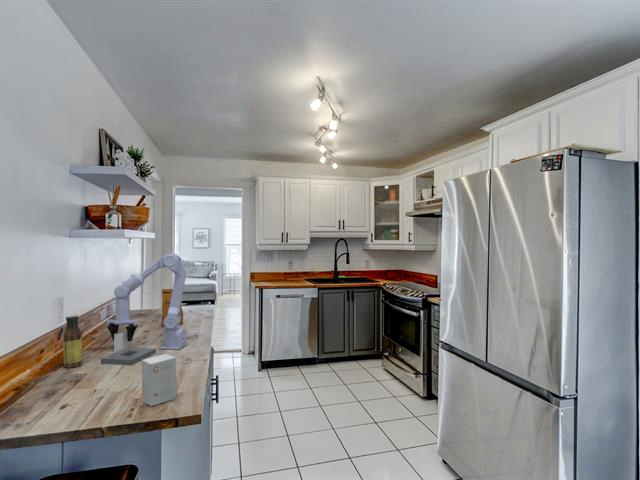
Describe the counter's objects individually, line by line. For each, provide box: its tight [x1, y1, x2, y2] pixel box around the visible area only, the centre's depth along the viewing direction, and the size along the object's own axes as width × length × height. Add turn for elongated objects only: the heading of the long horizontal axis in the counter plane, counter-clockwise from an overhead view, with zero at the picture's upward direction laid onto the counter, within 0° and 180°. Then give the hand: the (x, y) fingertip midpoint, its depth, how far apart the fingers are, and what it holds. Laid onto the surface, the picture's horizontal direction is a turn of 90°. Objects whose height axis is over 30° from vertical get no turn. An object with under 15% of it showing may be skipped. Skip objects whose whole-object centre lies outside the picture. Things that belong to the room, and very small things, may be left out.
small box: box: [141, 353, 177, 407], centre depth 111 cm, size 8×6×13 cm
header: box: [100, 346, 157, 366], centre depth 152 cm, size 14×16×2 cm
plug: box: [113, 330, 131, 353], centre depth 164 cm, size 4×6×8 cm
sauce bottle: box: [62, 314, 84, 369], centre depth 143 cm, size 6×6×20 cm
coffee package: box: [160, 288, 184, 327], centre depth 215 cm, size 10×12×22 cm
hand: (122, 340), depth 164 cm, fingers open, 7 cm apart
